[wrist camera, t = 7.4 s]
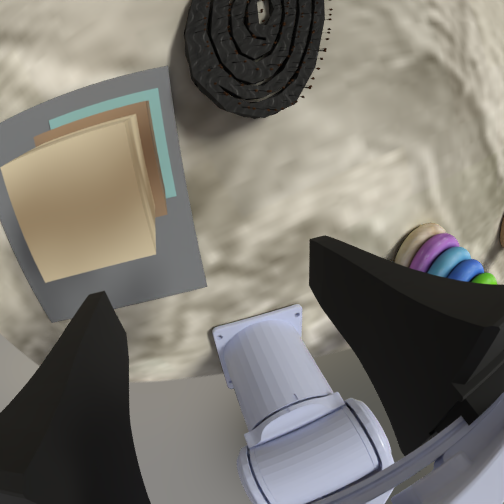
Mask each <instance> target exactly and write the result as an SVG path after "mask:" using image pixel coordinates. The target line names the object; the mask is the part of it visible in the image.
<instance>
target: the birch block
mask: <svg viewBox="0 0 504 504" xmlns="http://www.w3.org/2000/svg"><path fill="white" fill-rule="evenodd" d="M0 168H1V171H2V175H3V178H4V182H5V185H6V188H7V191H8V195H9V198H10V201H11V203H12V206H13V209H14V212H15V215H16V217H17V220H18V223H19V225H20V228H21V230H22V233H23V235H24V238H25V240H26V242H27V245H28V247H29V249H30V252H31V254H32V256H33V258H34V261H35V263H36V265H37V267H38V269H39V271H40V273H41V275H42V277H43V279H44V281H45V283H47V282H50V281H54V280H58V279H62V278H65V277H69V276H73V275H77V274H81V273H84V272H88V271H92V270H96V269H100V268H104V267H108V266H112V265H116V264H120V263H123V262H127V261H131V260H135V259H139V258H143V257H148V256H152V255H156V232H155V204H154V200H153V196H152V191H151V187H150V182H149V178H148V173H147V169H146V164H145V159H144V154H143V149H142V144H141V139H140V133H139V128H138V122H137V116H136V114H133V115H129V116H125V117H121V118H118V119H114V120H111V121H107V122H104V123H100V124H97V125H94V126H91V127H88V128H84V129H81V130H78V131H76V132H73V133H70V134H67V135H64V136H61V137H59V138H56V139H53V140H51V141H48V142H46V143H43V144H41V145H40V146H38V147H36V148H34V149H32V150H30V151H28V152H26V153H24V154H23V155H21V156H19V157H17V158H15V159H14V160H12V161H10V162H8V163H7V164H5V165H3V166H2V167H0Z"/></svg>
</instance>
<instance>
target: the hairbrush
mask: <svg viewBox="0 0 504 504" xmlns="http://www.w3.org/2000/svg"><path fill="white" fill-rule="evenodd" d="M210 1H211V0H192V3H191V6H190V9H189V13H188V18H187V23H186V27H185V32H184V37H185V52H186V57H187V60H188V63H189V66H190V72H191V78H192V80H193V82H194V84H195V85H196V86H197V87H198V88H199V90H200V91H201V92H202V93H203V94H204V95H206V96H207V97H208V98H209V99H210V100H212V101H213V102H214V103H215V104H216V105H217V106H218V107H219V108H221V109H224V110H226V111H228V112H231V113H234V114H237V115H240V116H243V117H251V118H254V119H256V118H260V117H261V118H265V117H268V116H270V115H274V114H277V113H278V112H279V111H281V110H284V109H285V108H287V107H289V106H292V105H294V104H295V103H297V102H298V101H297V99H298V98H299V97H302V98H304V96H300V94H301V92H302V90H303V88H309V89H311V87H312V85H310V86H309V87H305V85H306V83H307V81H308V79H309V77H310V76H311V74H312V72H313V70H314V69H318V70H319V69H320V68H315V66H316V61H317V56H318V51H324V52H326V48H324V50H319V46H320V41H321V35H322V30H324V29H323V25H324V20H325V14H324V0H312V11H311V0H297V7H296V0H269V14H270V18H269V19H268V21H267V22H266V24H265V25H263V24H259V19H258V13H259V12H258V10H257V1H259V0H249V1H247V0H234V1H233V3H232V6H231V8H230V9H229V5H231V4H229V1H230V0H214V2H213V5H212V9H211V12H210V16H209V23H208V29H209V35H210V40H209V38H208V35H207V33H206V29H207V21H208V14H209V7H210ZM260 1H264V0H260ZM329 1H331V0H329ZM246 3H247V8H246ZM281 5H282V7H281ZM245 8H246V13H245ZM281 8H282V11H281ZM296 8H297V12H296ZM262 10H263V9H261V10H259V11H260V13H262V12H263V11H262ZM329 10H332V9H329ZM228 11H230V15H229V14H228ZM244 14H245V17H244ZM281 14H282V16H281ZM295 15H296V19H295ZM329 15H331V14H329ZM228 16H230V18H229V19H230V26H228ZM244 18H245V25H244V24H243V19H244ZM280 20H281V22H280ZM326 20H331V19H326ZM264 21H265V20H263V21H261V22H264ZM280 24H281V26H280ZM294 24H295V25H294ZM279 26H280V28H279ZM229 27H230V30H228V28H229ZM246 27H247V28H246ZM293 30H294V31H293ZM328 30H331V29H330V28H329V29H328ZM278 31H279V32H278ZM308 33H309V35H308ZM327 33H330V32H327ZM277 34H279V35H277ZM276 36H277V37H278V39H277V38H276ZM292 36H293V37H292ZM307 36H308V37H307ZM275 38H276V40H277V41H276V40H275ZM326 40H329V38H326ZM210 41H211V42H210ZM274 41H275V42H274ZM291 41H292V42H291ZM273 43H274V45H273ZM272 45H273V47H272ZM271 48H272V50H271ZM304 48H305V49H304ZM270 50H271V52H270V53H269V54H268V55H267V56H266V57H265V58H264V59H262V60H260V61H258V62H254V61H253V60H255V59H258V58H260V57H262V56H263V55H264V54H266V53H267V52H269V51H270ZM303 52H304V53H303ZM217 59H218V60H217ZM320 60H323V58H320ZM218 61H219V62H220V64H219V63H218ZM282 62H283V63H282ZM220 66H221V67H220ZM279 66H280V67H279ZM222 68H223V69H224V70H225V71H224V70H223V69H222ZM277 69H278V70H277ZM276 70H277V71H276ZM275 72H276V73H275ZM294 72H295V73H294ZM274 73H275V74H274ZM293 74H294V75H293ZM273 75H274V76H273ZM292 75H293V76H292ZM271 76H273V77H272V79H271V80H270V81H268V82H266V83H263V84H261V85H258V86H254V85H249V84H256V83H258V82H261V81H264V79H267V78H269V77H271ZM311 79H315V78H314V77H313V78H311ZM236 80H237V81H239V82H242V83H244V84H246V85H243V84H241V85H240V84H239V83H238V82H237V81H236ZM281 88H283V89H282V90H281V91H279V92H278V93H276V94H274V95H273V96H271V97H269V98H267V99H265V100H263V101H259V102H250V103H247V102H244V101H242V100H239V99H245V100H250V99H258V98H263V97H265V96H267V95H269V94H271V93H273V92H275V91H277V90H279V89H281ZM224 91H225V92H224ZM227 95H231V96H232V97H230V96H227ZM233 97H234V98H233Z"/></svg>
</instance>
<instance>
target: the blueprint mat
mask: <svg viewBox="0 0 504 504" xmlns="http://www.w3.org/2000/svg"><path fill="white" fill-rule="evenodd" d="M147 100H149V105H150V112H151V118H152V124H153V130H154V135H155V141H156V146H157V152H158V157H159V162H160V167H161V172H162V177H163V182H164V187H165V195H166V205H167V214H168V215H164V216H160V217H156V218H155V232H156V255H152V256H148V257H143V258H139V259H135V260H131V261H127V262H123V263H120V264H116V265H112V266H108V267H104V268H100V269H96V270H92V271H88V272H84V273H81V274H77V275H73V276H69V277H65V278H62V279H58V280H54V281H50V282H47V283H45V281H44V279H43V277H42V275H41V273H40V271H39V269H38V267H37V265H36V263H35V261H34V258H33V256H32V254H31V252H30V249H29V247H28V245H27V242H26V240H25V238H24V235H23V233H22V230H21V228H20V225H19V223H18V220H17V217H16V215H15V212H14V209H13V206H12V203H11V201H10V198H9V195H8V191H7V188H6V185H5V182H4V178H3V175H2V171H1V168H0V220H1V223H2V225H3V228H4V230H5V233H6V235H7V237H8V240H9V242H10V244H11V247H12V249H13V251H14V253H15V256H16V258H17V260H18V262H19V264H20V266H21V268H22V270H23V272H24V274H25V276H26V278H27V280H28V282H29V284H30V286H31V288H32V290H33V291H34V293H35V295H36V297H37V299H38V300H39V302H40V304H41V306H42V307H43V309H44V311H45V312H46V314H47V316H48V317H49V319H50V321H51V322H52V323H53V322H57V321H62V320H67V319H71V318H73V317H74V315H75V314H76V312H77V311H78V309H79V308H80V306H81V305H82V303H83V302H84V300H85V299H86V298H87V297H88V295H89V294H93V293H97V292H101V291H105V292H106V294H107V296H108V298H109V300H110V303H111V305H112V307H113V309H116V308H120V307H125V306H129V305H133V304H137V303H142V302H146V301H150V300H154V299H159V298H163V297H167V296H171V295H175V294H179V293H183V292H187V291H192V290H196V289H200V288H204V287H207V283H206V279H205V274H204V270H203V265H202V261H201V256H200V251H199V247H198V242H197V237H196V232H195V227H194V222H193V217H192V212H191V207H190V202H189V197H188V191H187V186H186V181H185V175H184V169H183V164H182V158H181V152H180V146H179V140H178V134H177V127H176V121H175V114H174V107H173V100H172V93H171V86H170V78H169V71H168V66H164V67H159V68H154V69H149V70H145V71H140V72H136V73H132V74H128V75H124V76H120V77H116V78H113V79H109V80H106V81H102V82H99V83H96V84H93V85H89V86H86V87H83V88H80V89H77V90H75V91H72V92H69V93H66V94H64V95H61V96H58V97H56V98H53V99H51V100H48V101H46V102H43V103H41V104H39V105H36V106H34V107H32V108H30V109H27V110H25V111H23V112H21V113H19V114H17V115H15V116H13V117H11V118H9V119H7V120H5V121H3V122H1V123H0V167H2V166H3V165H5V164H7V163H8V162H10V161H12V160H14V159H15V158H17V157H19V156H21V155H23V154H24V153H26V152H28V151H30V150H32V149H34V148H36V146H35V142H34V137H35V136H37V135H39V134H42V133H44V132H47V131H49V130H52V129H55V128H57V127H60V126H62V125H65V124H68V123H71V122H74V121H77V120H79V119H82V118H85V117H89V116H92V115H95V114H98V113H101V112H105V111H108V110H112V109H115V108H119V107H123V106H126V105H130V104H134V103H138V102H143V101H147Z"/></svg>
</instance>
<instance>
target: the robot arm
mask: <svg viewBox="0 0 504 504" xmlns="http://www.w3.org/2000/svg"><path fill="white" fill-rule="evenodd" d="M309 286H310V288H311V290H312V292H313V293H314V295H315V297H316V299H317V301H318V302H319V304H320V306H321V308H322V309H323V310H324V312H325V313H326V314H327V316H328V317H329V319H330V320H331V321H332V323H333V324H334V325H335V327H336V328H337V329H338V331H339V332H340V333H341V335H342V336H343V337H344V339H345V340H346V341H347V343H348V344H349V345H350V347H351V348H352V349H353V351H354V352H355V354H356V355H357V357H358V358H359V360H360V362H361V363H362V365H363V367H364V369H365V371H366V372H367V374H368V376H369V378H370V380H371V382H372V384H373V385H374V388H375V390H376V392H377V394H378V396H379V398H380V400H381V402H382V404H383V406H384V408H385V411H386V413H387V415H388V417H389V420H390V422H391V425H392V427H393V430H394V432H395V435H396V438H397V441H398V444H399V447H400V449H401V451H402V453H403V454H404V456H405V457H403V458H402V459H400V460H399V461H397V462H395V463H394V461H393V458H392V455H391V448H390V445H389V442H388V439H387V437H386V435H385V433H384V431H383V429H382V427H381V426H380V424H379V422H378V420H377V419H376V417H375V416H374V414H373V413H372V412H371V410H370V409H369V408H368V407H367V406H366V404H364V403H363V402H362V401H359V400H355V399H353V398H349V399H347V400H345V401H343V399H342V398H341V396H340V394H339V393H338V392H335V393H333V391H332V389H331V388H330V386H329V384H328V383H327V381H326V379H325V378H324V376H323V374H322V373H321V371H320V369H319V368H318V366H317V364H316V362H315V361H314V359H313V357H312V356H311V354H310V352H309V351H308V349H307V347H306V346H305V344H304V342H303V340H302V339H301V330H302V307H301V306H300V305H299V304H295V305H292V306H289V307H286V308H282V309H279V310H275V311H272V312H269V313H265V314H262V315H258V316H255V317H251V318H248V319H244V320H240V321H237V322H233V323H229V324H225V325H222V326H218V327H215V328H214V329H213V330H212V334H213V337H214V341H215V344H216V348H217V352H218V355H219V359H220V362H221V365H222V369H223V372H224V376H225V379H226V382H227V386H228V388H230V389H234V390H235V393H236V396H237V399H238V402H239V405H240V407H241V410H242V413H243V416H244V419H245V422H246V424H247V427H248V430H249V432H248V433H245V434H244V437H245V439H246V442H247V446H245V447H242V448H241V449H240V452H239V455H238V458H237V469H238V474H239V477H240V480H241V483H242V485H243V488H244V490H245V492H246V494H247V495H248V497H249V499H250V500H251V502H252V503H253V504H384V503H385V502H386V500H387V499H388V497H389V495H390V494H391V492H392V491H393V489H394V487H396V486H397V485H399V484H401V483H402V482H404V481H405V480H407V479H408V478H410V477H411V476H413V475H414V474H416V473H417V472H419V471H420V470H422V469H423V468H425V467H426V466H428V465H429V464H430V463H432V462H433V461H435V463H434V469H433V470H432V472H430V473H429V474H427V475H426V476H424V477H423V478H421V479H420V480H418V481H417V482H415V483H414V484H412V485H411V486H409V487H408V488H406V489H405V490H403V491H401V492H400V493H398V494H397V495H395V496H393V497H392V498H391V501H392V503H393V504H502V503H503V502H504V285H496V284H482V283H474V282H466V281H460V280H455V279H450V278H445V277H440V276H436V275H432V274H429V273H425V272H422V271H418V270H415V269H411V268H408V267H405V266H402V265H400V264H397V263H394V262H392V261H389V260H386V259H384V258H381V257H378V256H376V255H374V254H371V253H369V252H366V251H364V250H361V249H359V248H357V247H354V246H352V245H349V244H347V243H345V242H342V241H340V240H337V239H334V238H331V237H328V236H321V237H317V238H313V239H310V263H309ZM296 313H297V314H296ZM219 335H221V336H219ZM0 504H151V503H150V500H149V498H148V495H147V492H146V489H145V486H144V483H143V479H142V476H141V472H140V469H139V465H138V461H137V456H136V452H135V448H134V443H133V437H132V431H131V426H130V415H129V356H128V346H127V337H126V332H125V330H124V328H123V326H122V325H121V323H120V321H119V319H118V317H117V315H116V313H115V311H114V309H113V307H112V305H111V303H110V300H109V298H108V296H107V294H106V292H105V291H101V292H97V293H93V294H89V295H88V297H87V298H86V299H85V300H84V302H83V303H82V305H81V306H80V308H79V309H78V311H77V312H76V314H75V315H74V317H73V318H72V320H71V321H70V323H69V324H68V326H67V327H66V329H65V330H64V332H63V334H62V335H61V337H60V338H59V340H58V341H57V342H56V344H55V345H54V347H53V348H52V350H51V351H50V353H49V354H48V356H47V357H46V359H45V360H44V362H43V363H42V364H41V366H40V367H39V368H38V370H37V371H36V372H35V374H34V375H33V376H32V378H31V379H30V380H29V381H28V383H27V384H26V385H25V386H24V387H23V389H22V390H21V391H20V392H19V393H18V394H17V395H16V397H15V398H14V399H13V400H12V401H11V402H10V404H9V405H8V406H7V407H6V408H5V409H4V410H3V411H2V412H1V413H0Z"/></svg>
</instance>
